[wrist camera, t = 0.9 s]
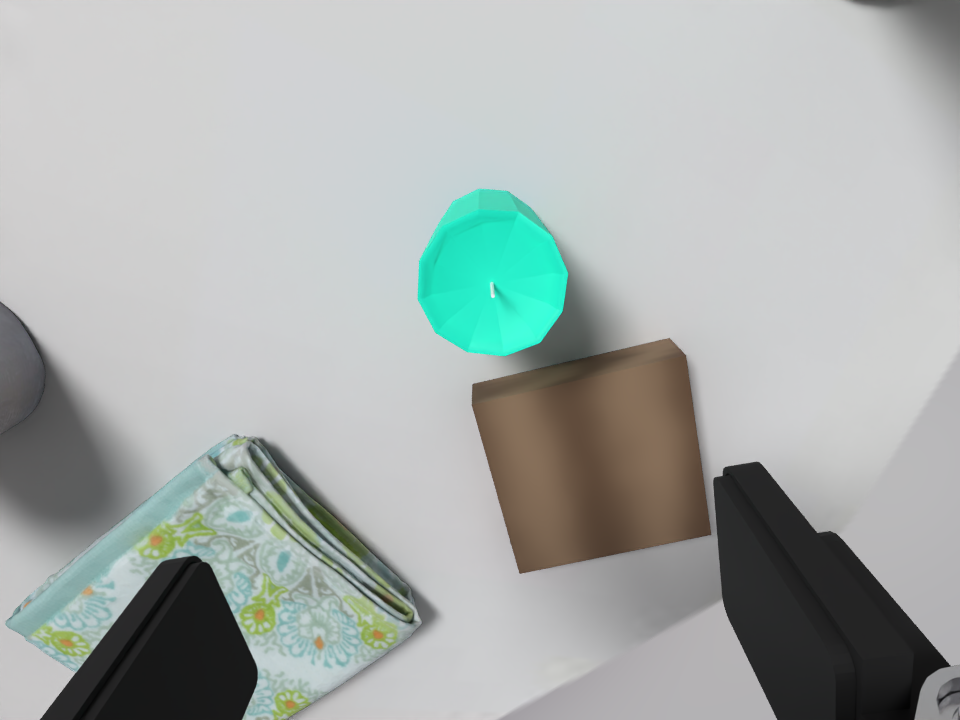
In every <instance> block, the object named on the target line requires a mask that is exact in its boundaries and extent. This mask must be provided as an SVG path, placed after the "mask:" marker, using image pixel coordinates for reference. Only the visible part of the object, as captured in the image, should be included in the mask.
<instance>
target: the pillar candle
mask: <svg viewBox="0 0 960 720" xmlns="http://www.w3.org/2000/svg"><path fill="white" fill-rule="evenodd" d="M44 382H45V368H44V364H43V361H42V359H41V357H40V355H39V353H38V351H37V350H36V348H35V346H34V344H33V342H32V340H31V338H30V337H29V335H28V334H27V332H26V330H25V329H24V327H23V326H22V324H21V322H20V321H19V320H18V318H17V317H16V316H15V315H14V314H13V313H12V312H11V311H10V310H9V309H8V308H7V307H6V306H4V305H3V304H1V303H0V434H2V433H3V432H5V431H6V430H8V429H10V428H11V427H13V426H15V425H16V424H18V423H19V422H21V421H22V420H24V419H25V418H26V417H27V416H28V415H29V414H31V413H32V411H33V410H34V409H35V408H36V406H37V404H38V403H39V401H40V399H41V396H42V394H43V390H44V386H45V384H44Z"/></svg>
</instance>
